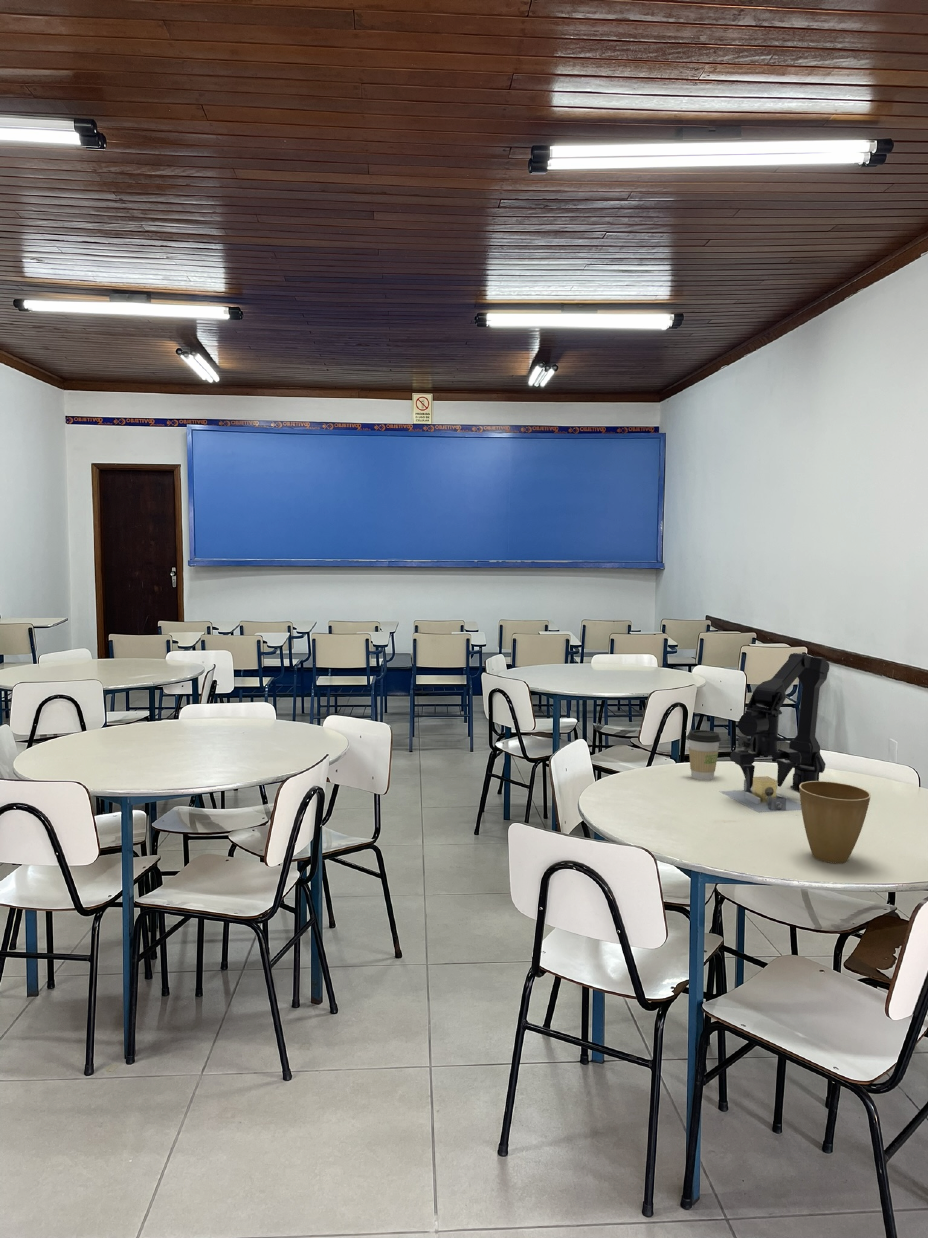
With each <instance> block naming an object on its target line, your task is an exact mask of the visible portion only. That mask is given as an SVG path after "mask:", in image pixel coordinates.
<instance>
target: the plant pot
mask: <svg viewBox="0 0 928 1238" xmlns="http://www.w3.org/2000/svg"><path fill="white" fill-rule="evenodd" d="M798 792H799V801H800V802H799V803H800V804H801V810H800V811H801V815H802V820H803V825H804V830H805V831H804V832H805V834H806V839H807V842H808V845H809V849H810V852H811V855H812V857H813V858H814V859H816V860H819V861H820V860H821V861H820V862H824V861H825V863H828V862H829V864H836V863H839V864H845V863H847V862H848V861H849V859H850V857H851V854H852V853H853V850H854V849H855V847H856V844H857V841H858V839H859V838H860V835H861V831H862V829H863V826H864V822H865V820H866V817H867V813H868V808H869V805H870V801H871V793H870V792H869V791H867V789H864V788H861V787H858V786H855V785H851V784H847V783H841V782H834V781H823V780H822V781H821V780H819V781H809V782H804V783H801V784H800V785H799V791H798ZM846 861H847V862H846ZM844 862H845V863H844Z"/></svg>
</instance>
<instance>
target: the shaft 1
mask: <svg viewBox="0 0 928 1238" xmlns="http://www.w3.org/2000/svg"><path fill="white" fill-rule="evenodd" d="M743 790H744V791H745V792H752V793H753V783H752V787H751V788H748V786H747V783H746V780H745V779H743Z"/></svg>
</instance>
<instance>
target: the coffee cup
mask: <svg viewBox="0 0 928 1238" xmlns="http://www.w3.org/2000/svg"><path fill="white" fill-rule="evenodd" d="M686 738H687V740H688V752H689V765H690V766H689V768H690V771H691V773H690V775H691V778H692V779H694V780H698V781H712V780H714V776H715V772H716V767H717V762H718V757H719V756H718V755H719V745H720V742H721V741H722V738H721V737H720V733H719V732H717V731H712V730H707V729H706V730H704V729H695V730H694V729H693V730H690V731H689V734H688V735H687V737H686Z"/></svg>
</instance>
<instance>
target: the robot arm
mask: <svg viewBox="0 0 928 1238" xmlns="http://www.w3.org/2000/svg"><path fill="white" fill-rule="evenodd" d="M829 672H830V663H829V662H828V661H827V659H826V658H825V657H820V656H811V655H808V654H807V653H800V652H799V653H798V652H793V653H790V654H789V656H788V658H787V660H786V661H785V662H784V664H783V665H782V666H781V667H780V668H779V670H778V671H776V673H775V674H774V675H773V677H772V678H770V679H767V680H765V681H762V682H760V684H758V685H757V686H756V687H755V688H754V690H753V692H752V694H751V696H750V699H749V701H748V704H747V706H746V710H745V714H744V715H742V716H741V717H740V718H739V720H738V722H737V727H738V730H739V731H740V733H741V734H742V735H743V736H738V738H737V739H738V740H737V746H738V748H739V750H732V752H731V753H730V757H729V758H730V759H729V760H730V761H731V762H733V763H734V764H735V765H738V766H739V768H740V769H741V771H742V773H743V776H744V780H746V783H747V786H748V788H751V787H752V783H753V777H755V776H754V775H755V769H756V765H753V764H754V763H755V761H767V760H768V761H769V760H773V761H774V760H775V762H776V764H777V777H776V780H777V787H779V788H781V787H782V785H783V784H784V782H785V780H786V778H787V777H788V775H789V774H790V772H791V771H792V770H793V769H794V770H793V771H794V772H793V774H792V785H790V786H789V787H790V788H791V789H794V790H796V791H797V792H800V791H799V785H800V784H801V783H804V782H809V781H820V774H822V773H824V771H825V769H826V762H825V760H824V758H823V757H822V754H821V745H820V744H819V742H818V739H817V737H816V730H817V720H818V710H819V701H820V689H821V687H822V685H823V684H824V683H825V682H826V681H827V679H828V674H829ZM796 679H798V681H799V683H800V684H801V694H800V704H799V713H798V725H797V734H796V735H795V737H794V738H793V739H790V741H789V744H788V745H789V747H788V748H778V742H780V741H781V736H779V716H780V715H782V714H783V711H782V710H781V709H780V708H781V707H782V706H783V704H784V703H785V701H786V699H787V694H786V692H787V691H788V689H789V688H790V687H791V685H793V683H794V681H796ZM748 737H752V738H748ZM740 749H742V750H740Z"/></svg>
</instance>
